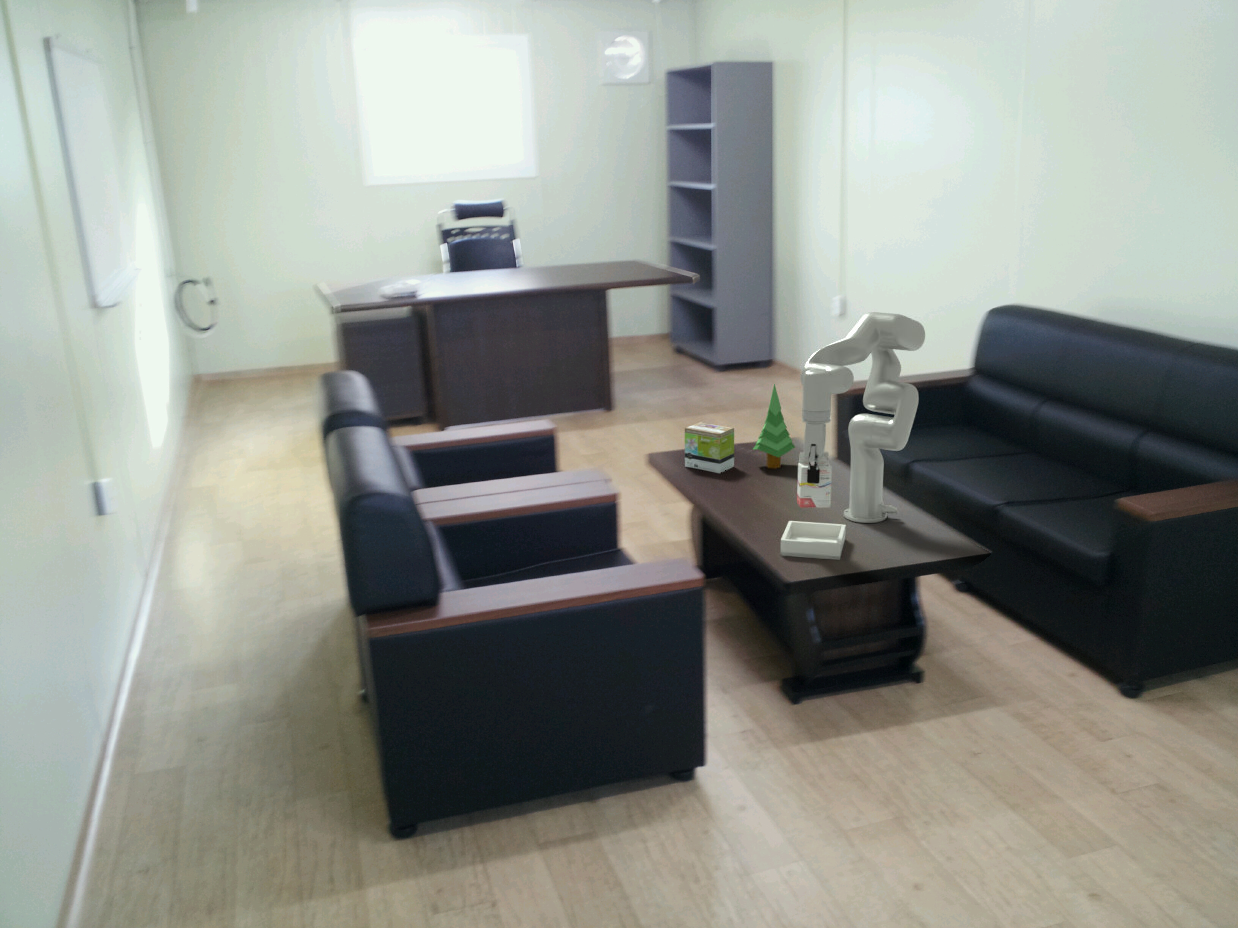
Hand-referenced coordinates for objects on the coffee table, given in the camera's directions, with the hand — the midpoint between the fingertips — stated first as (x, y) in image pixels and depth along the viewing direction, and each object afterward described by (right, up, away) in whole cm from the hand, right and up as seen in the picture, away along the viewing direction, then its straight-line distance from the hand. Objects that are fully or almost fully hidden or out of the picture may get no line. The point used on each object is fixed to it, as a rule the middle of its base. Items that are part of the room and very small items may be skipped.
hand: (814, 478), depth 284 cm
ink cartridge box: (0, -7, +2) cm, 8 cm away
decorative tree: (+1, +3, +82) cm, 82 cm away
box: (+1, -19, +6) cm, 20 cm away
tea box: (-22, +3, +84) cm, 87 cm away
